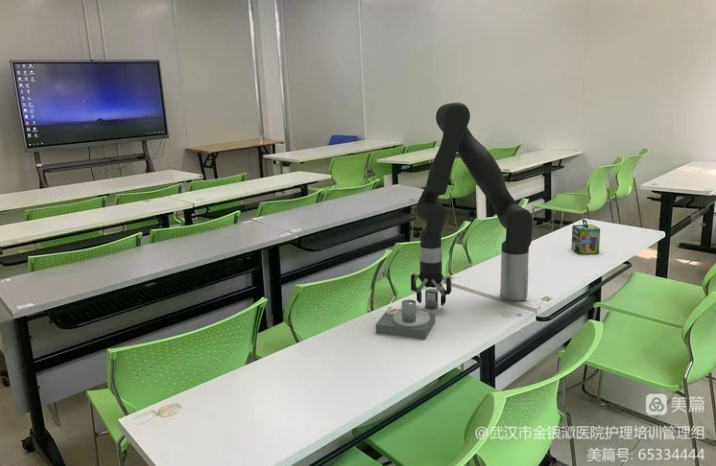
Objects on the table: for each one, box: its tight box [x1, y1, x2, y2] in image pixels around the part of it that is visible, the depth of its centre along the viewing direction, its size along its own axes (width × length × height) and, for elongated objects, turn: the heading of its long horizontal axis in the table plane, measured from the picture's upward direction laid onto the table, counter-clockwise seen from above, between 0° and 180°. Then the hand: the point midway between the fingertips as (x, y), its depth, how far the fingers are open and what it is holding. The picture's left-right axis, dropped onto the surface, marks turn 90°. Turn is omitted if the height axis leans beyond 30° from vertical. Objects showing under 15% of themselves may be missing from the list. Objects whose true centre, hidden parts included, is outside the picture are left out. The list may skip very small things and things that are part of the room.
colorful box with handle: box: [570, 218, 601, 255], centre depth 235 cm, size 9×9×15 cm
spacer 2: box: [424, 288, 439, 311], centre depth 184 cm, size 4×4×6 cm
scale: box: [375, 307, 436, 340], centre depth 170 cm, size 16×13×4 cm
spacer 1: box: [401, 299, 417, 323], centre depth 165 cm, size 4×4×6 cm
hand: (431, 303), depth 184 cm, fingers open, 7 cm apart
